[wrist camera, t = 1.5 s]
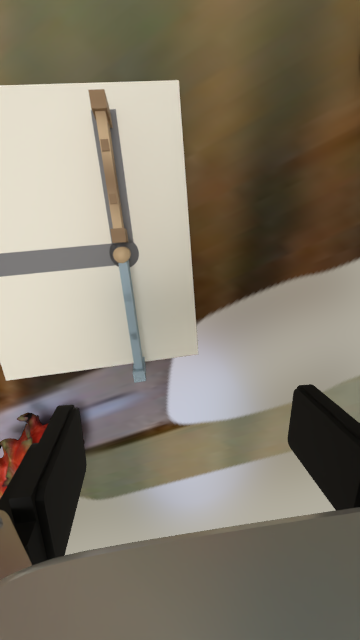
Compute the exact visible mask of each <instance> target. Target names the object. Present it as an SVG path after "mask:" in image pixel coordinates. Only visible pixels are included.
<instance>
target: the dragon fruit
mask: <svg viewBox="0 0 360 640" xmlns="http://www.w3.org/2000/svg"><path fill="white" fill-rule="evenodd" d="M17 420H19V421H26V422H27V423H28V424H26V426H25V429H24V431H23V433H22V436H21V438H20V439H19V440H16V439H4V440H2V441H1V442H0V448H1V446H2V447H3V451H4V455H3V457H2V458H0V499H1V497H2V495H3V493H4V491H5V490H6V488H7V486H8V484H9V482H10V481H11V479H12V477H13V475H14V474H15V472H16V470H17V468H18V466H19V465H20V463H21V461H22V459H23V457H24V456H25V454H26V452H27V450H28V449H29V447H30V446H31V445H32V444H33V443H38V442H39V440H40V438H41V437H42V435H43V433H44V431H45V429H46V427H47V425H48V424H45V425H42V424H41V423H40V421H39V416H38V415H37V416H36V415H34V414H32V413H25V414H24V415H21V416H20V417H18V418H17ZM83 442H84V440H83Z"/></svg>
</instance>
